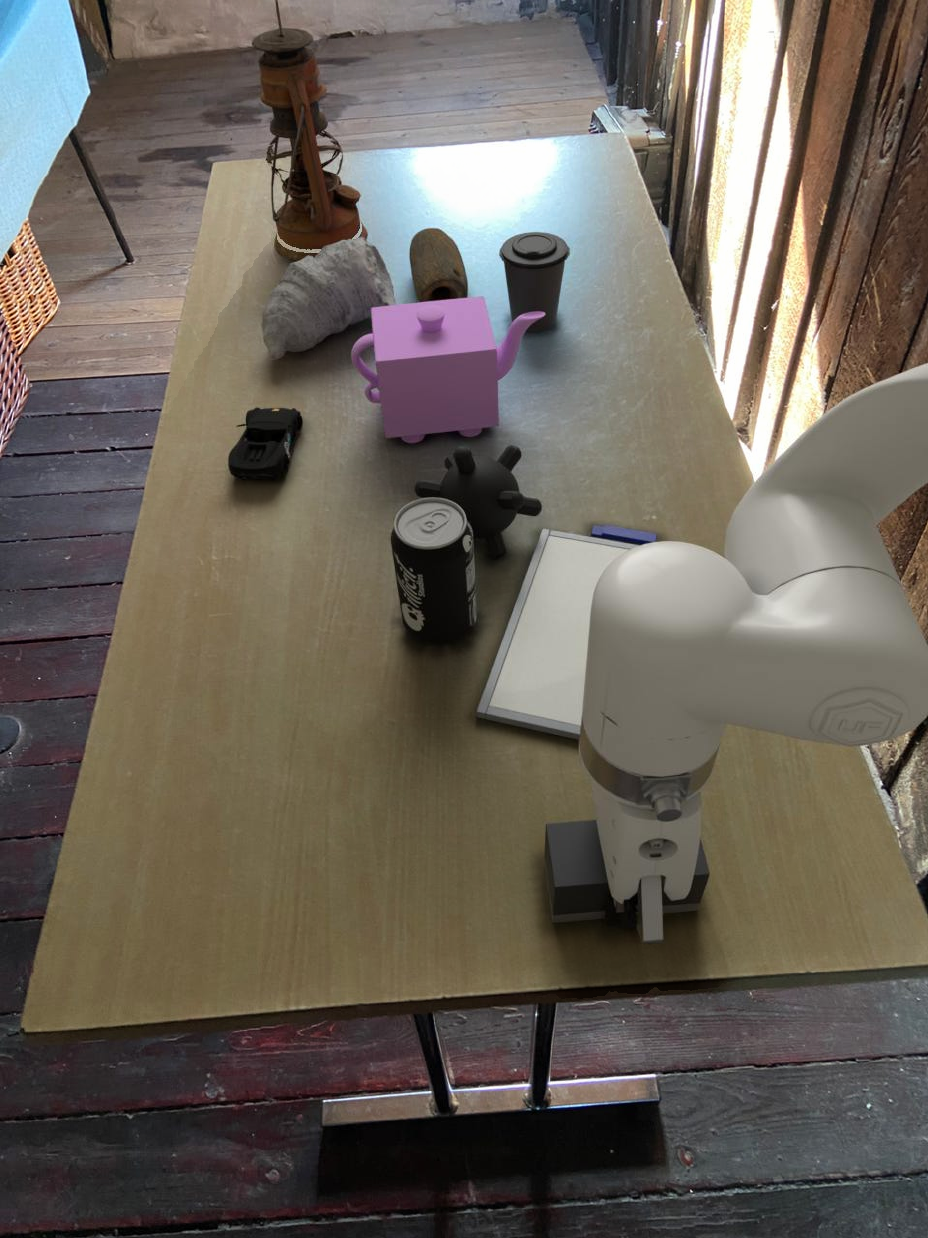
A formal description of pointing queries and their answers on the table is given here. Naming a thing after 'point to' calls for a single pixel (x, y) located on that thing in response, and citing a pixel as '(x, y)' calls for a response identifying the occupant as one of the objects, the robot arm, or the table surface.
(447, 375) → the teapot
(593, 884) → the whiteboard eraser
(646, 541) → the blue rectangular bar
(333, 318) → the seashell
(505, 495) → the toy ball
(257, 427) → the toy car
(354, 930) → the table surface
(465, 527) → the beverage can
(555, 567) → the whiteboard
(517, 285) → the coffee cup
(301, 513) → the table surface
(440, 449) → the table surface
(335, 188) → the lantern
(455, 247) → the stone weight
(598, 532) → the blue bar
